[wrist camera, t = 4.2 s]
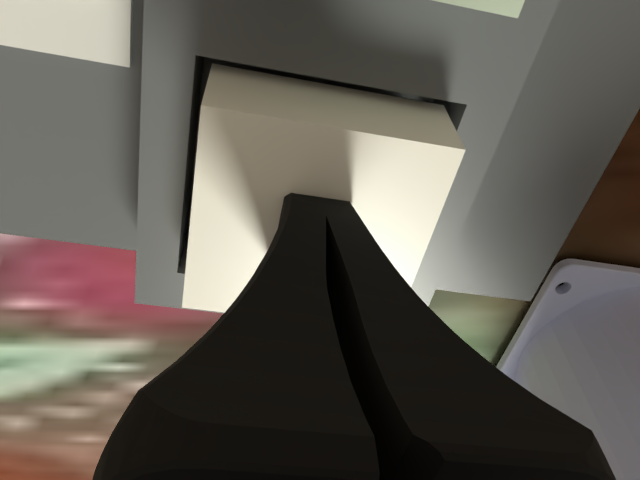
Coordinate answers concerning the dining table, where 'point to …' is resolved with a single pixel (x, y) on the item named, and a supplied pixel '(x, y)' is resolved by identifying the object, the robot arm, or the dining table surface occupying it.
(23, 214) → the keypad
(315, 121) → the cream key
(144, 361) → the dining table surface
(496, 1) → the sage key
